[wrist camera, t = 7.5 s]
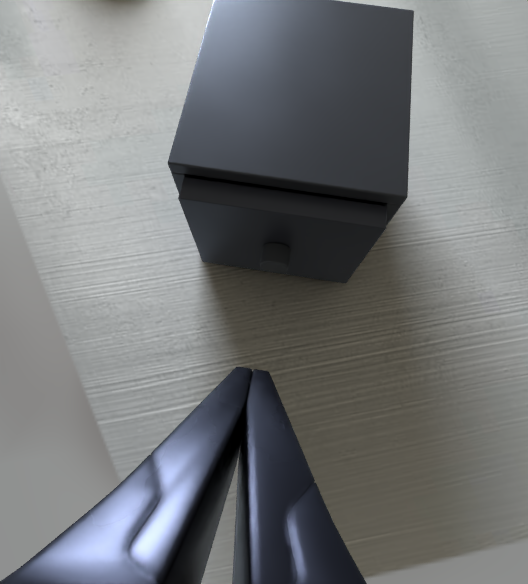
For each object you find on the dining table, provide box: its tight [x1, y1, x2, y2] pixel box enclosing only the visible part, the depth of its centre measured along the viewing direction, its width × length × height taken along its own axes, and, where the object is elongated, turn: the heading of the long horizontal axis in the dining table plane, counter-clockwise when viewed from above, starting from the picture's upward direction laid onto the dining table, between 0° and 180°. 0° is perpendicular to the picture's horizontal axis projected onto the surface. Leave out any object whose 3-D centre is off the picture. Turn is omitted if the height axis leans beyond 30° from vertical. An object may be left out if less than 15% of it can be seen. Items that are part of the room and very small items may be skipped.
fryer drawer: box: [179, 177, 387, 283], centre depth 21 cm, size 12×10×8 cm
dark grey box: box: [168, 0, 414, 226], centre depth 22 cm, size 12×11×9 cm
